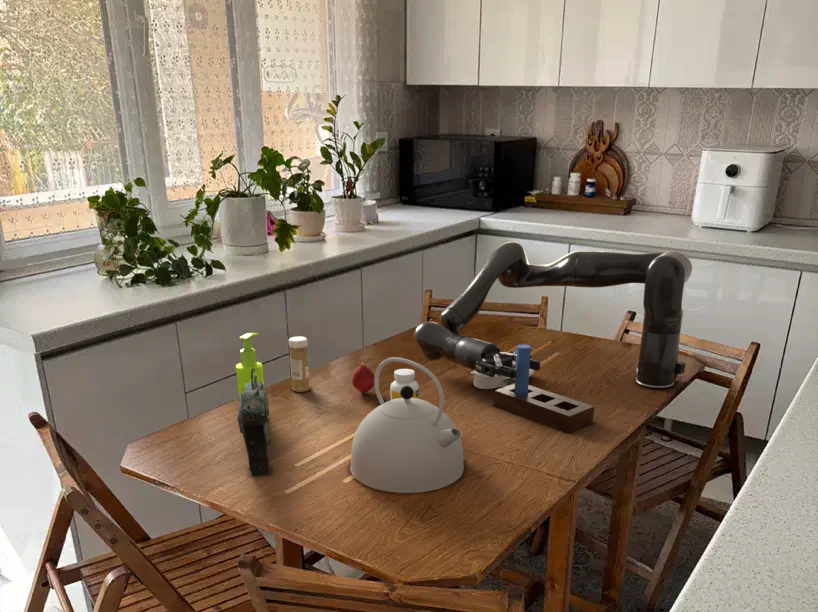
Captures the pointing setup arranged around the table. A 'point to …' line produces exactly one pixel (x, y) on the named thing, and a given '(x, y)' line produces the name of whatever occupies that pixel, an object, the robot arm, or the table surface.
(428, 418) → the kettle
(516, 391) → the peg
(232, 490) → the table surface
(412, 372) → the pill bottle
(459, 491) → the table surface
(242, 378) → the soap dispenser
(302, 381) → the sprinkles bottle
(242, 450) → the table surface
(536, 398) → the rack
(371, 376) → the onion
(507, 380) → the white multi-cup tray
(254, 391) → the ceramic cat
